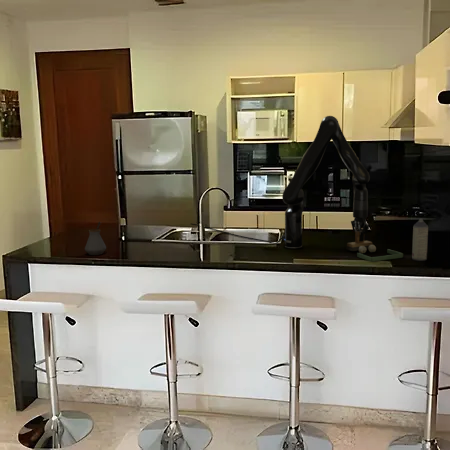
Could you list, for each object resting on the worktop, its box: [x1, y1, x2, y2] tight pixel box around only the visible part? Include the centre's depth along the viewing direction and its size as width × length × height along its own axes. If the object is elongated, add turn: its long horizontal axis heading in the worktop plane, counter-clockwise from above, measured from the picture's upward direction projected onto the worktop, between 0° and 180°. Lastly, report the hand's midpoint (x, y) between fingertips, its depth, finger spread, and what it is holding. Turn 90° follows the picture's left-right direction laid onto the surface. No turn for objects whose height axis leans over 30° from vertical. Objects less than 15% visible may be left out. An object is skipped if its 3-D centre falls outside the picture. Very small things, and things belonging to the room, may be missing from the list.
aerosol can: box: [411, 218, 429, 262], centre depth 260 cm, size 7×7×20 cm
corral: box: [356, 248, 404, 262], centre depth 268 cm, size 12×19×2 cm, turn 112°
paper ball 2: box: [367, 244, 377, 253], centre depth 278 cm, size 4×4×4 cm
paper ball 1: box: [358, 246, 368, 255], centre depth 276 cm, size 4×4×4 cm
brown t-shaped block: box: [346, 231, 373, 252], centre depth 282 cm, size 5×13×10 cm, turn 112°
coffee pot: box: [84, 221, 107, 256], centre depth 294 cm, size 21×12×15 cm, turn 2°
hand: (359, 240), depth 282 cm, fingers closed on brown t-shaped block, 2 cm apart
